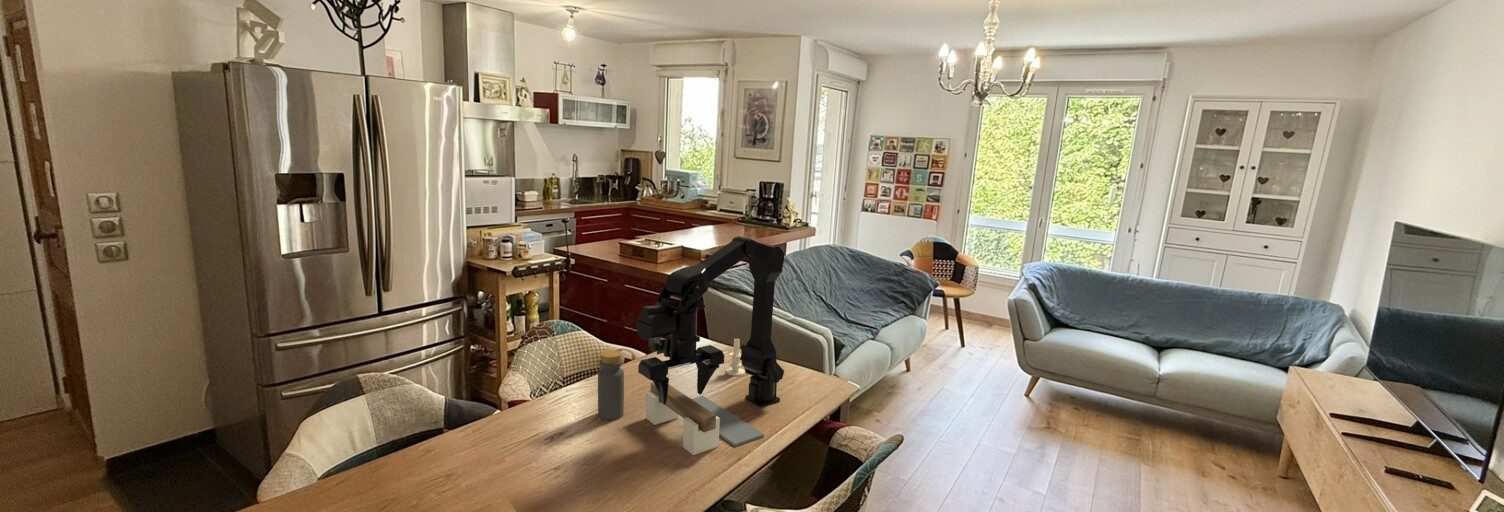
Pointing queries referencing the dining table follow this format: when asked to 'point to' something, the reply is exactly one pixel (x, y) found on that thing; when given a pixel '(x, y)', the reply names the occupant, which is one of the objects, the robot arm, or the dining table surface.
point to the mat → (730, 424)
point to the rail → (688, 408)
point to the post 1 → (658, 410)
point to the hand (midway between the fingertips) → (681, 398)
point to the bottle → (610, 386)
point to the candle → (735, 361)
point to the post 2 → (699, 437)
